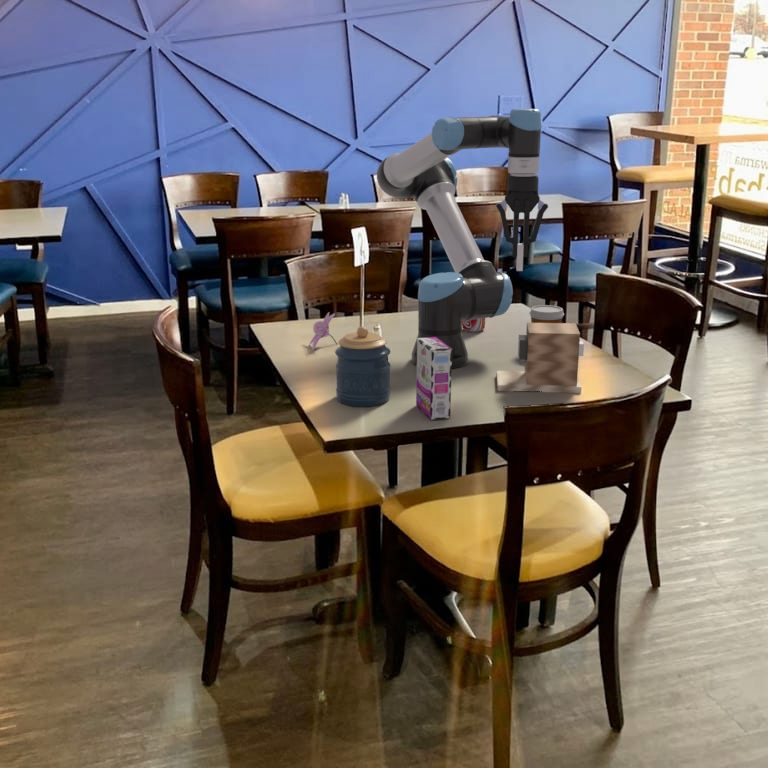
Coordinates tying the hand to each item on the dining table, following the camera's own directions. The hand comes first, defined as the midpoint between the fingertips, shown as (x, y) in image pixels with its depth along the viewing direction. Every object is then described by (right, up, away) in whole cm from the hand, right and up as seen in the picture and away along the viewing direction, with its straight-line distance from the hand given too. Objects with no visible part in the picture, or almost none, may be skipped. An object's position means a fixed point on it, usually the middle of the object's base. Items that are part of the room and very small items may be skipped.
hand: (519, 269), depth 232 cm
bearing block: (+4, -29, -4) cm, 29 cm away
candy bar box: (-23, -35, -22) cm, 48 cm away
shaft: (+7, -22, -6) cm, 24 cm away
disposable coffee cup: (+11, -20, +25) cm, 34 cm away
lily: (-52, -18, +32) cm, 63 cm away
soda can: (-7, -13, +47) cm, 49 cm away
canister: (-39, -32, -13) cm, 52 cm away
